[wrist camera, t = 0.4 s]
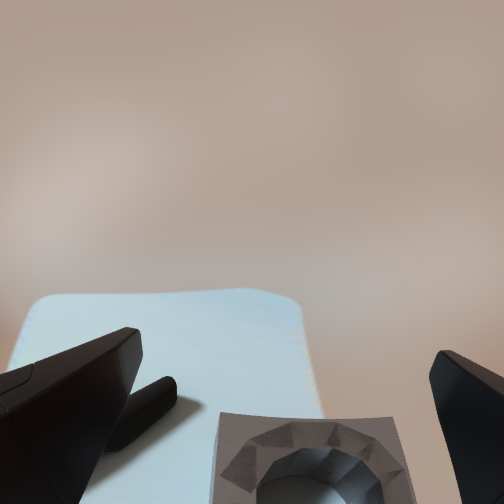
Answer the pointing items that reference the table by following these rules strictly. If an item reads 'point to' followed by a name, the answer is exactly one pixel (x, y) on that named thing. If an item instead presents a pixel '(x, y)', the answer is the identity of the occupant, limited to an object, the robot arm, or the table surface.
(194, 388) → the table surface
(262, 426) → the grey square holder
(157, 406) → the electric trimmer
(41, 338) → the table surface
